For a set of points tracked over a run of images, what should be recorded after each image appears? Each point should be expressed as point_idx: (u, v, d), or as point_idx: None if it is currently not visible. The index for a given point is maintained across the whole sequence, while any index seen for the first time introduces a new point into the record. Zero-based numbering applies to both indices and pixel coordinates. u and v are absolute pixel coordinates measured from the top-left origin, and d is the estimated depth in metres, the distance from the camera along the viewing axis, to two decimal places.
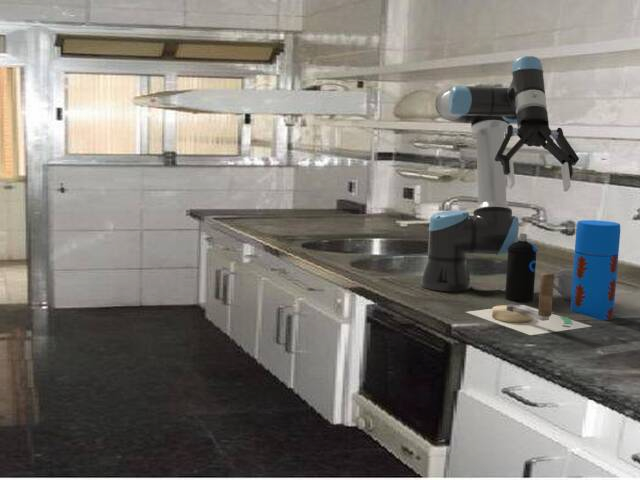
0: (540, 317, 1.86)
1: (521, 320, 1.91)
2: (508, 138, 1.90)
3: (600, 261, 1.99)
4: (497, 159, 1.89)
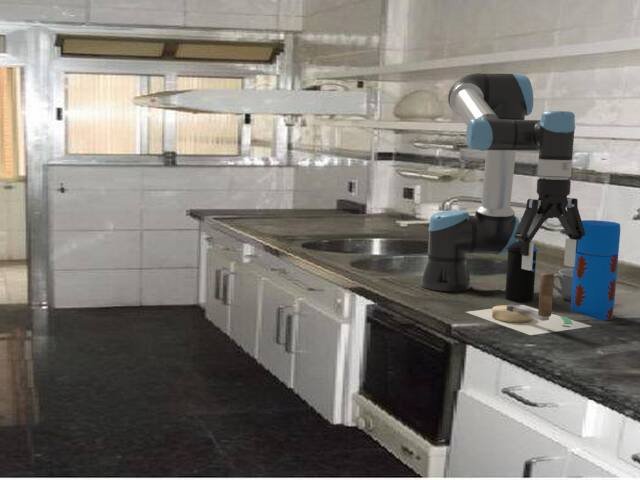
0: (540, 317, 1.86)
1: (521, 320, 1.91)
2: (533, 216, 1.78)
3: (600, 261, 1.99)
4: (518, 239, 1.79)
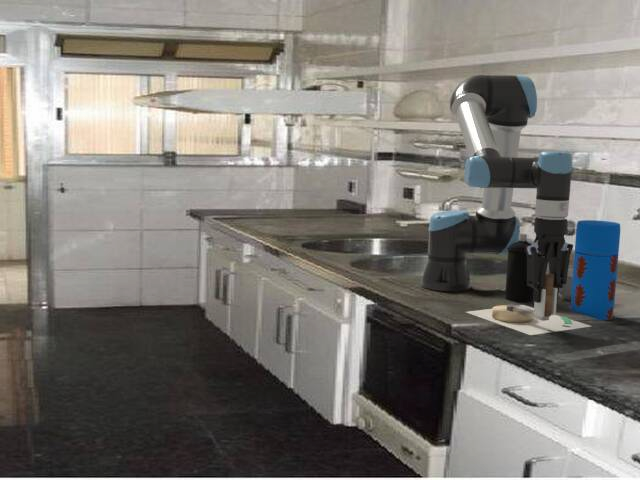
0: (540, 317, 1.86)
1: (521, 320, 1.91)
2: (536, 263, 1.81)
3: (600, 261, 1.99)
4: (531, 286, 1.83)
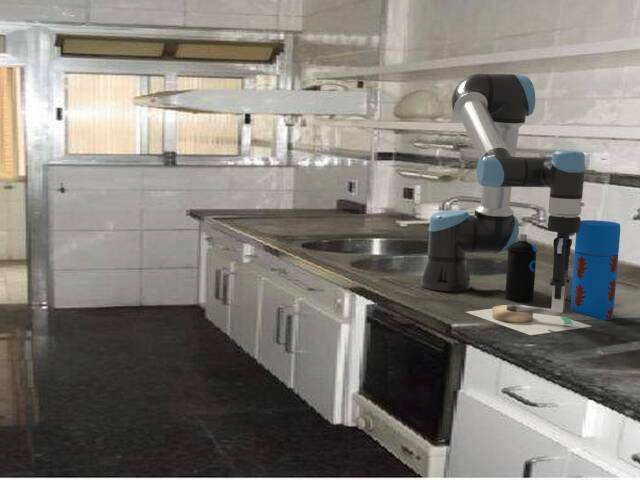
0: (555, 313, 1.90)
1: (530, 319, 1.93)
2: (564, 261, 1.84)
3: (600, 261, 1.99)
4: (556, 284, 1.86)
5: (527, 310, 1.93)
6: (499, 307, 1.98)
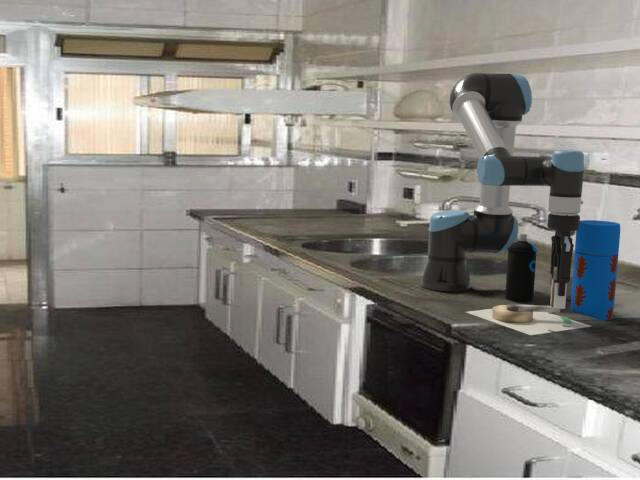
0: (557, 310, 1.94)
1: (532, 317, 1.94)
2: None
3: (600, 261, 1.99)
4: (562, 281, 1.89)
5: (529, 309, 1.94)
6: (498, 308, 1.97)
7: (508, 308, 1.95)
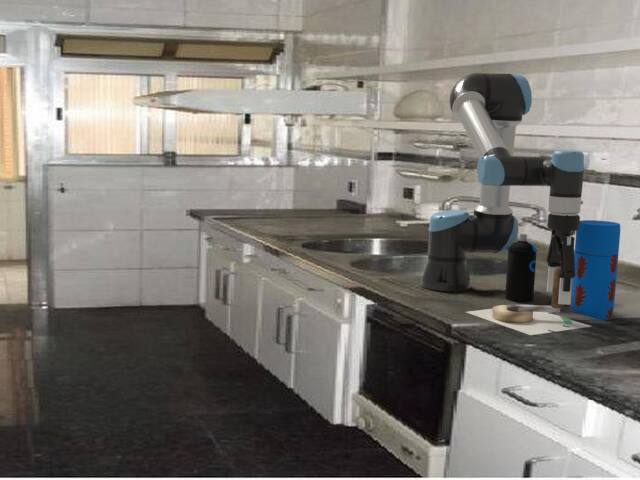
0: (557, 310, 1.94)
1: (532, 317, 1.94)
2: None
3: (600, 261, 1.99)
4: (568, 276, 1.84)
5: (529, 309, 1.94)
6: (498, 308, 1.97)
7: (508, 308, 1.95)
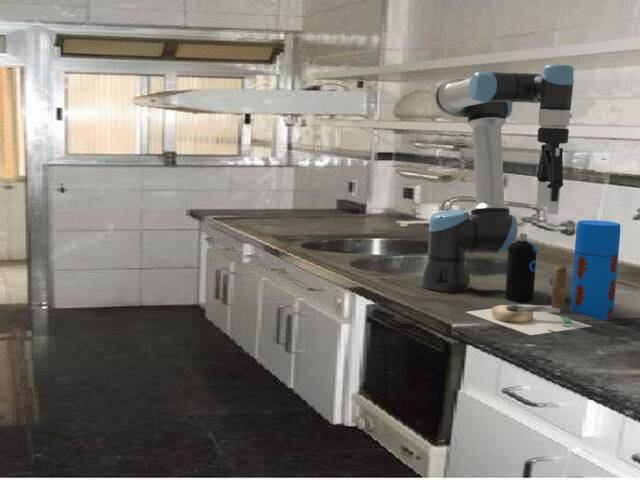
0: (557, 310, 1.94)
1: (532, 317, 1.94)
2: None
3: (600, 261, 1.99)
4: (556, 186, 1.90)
5: (529, 309, 1.94)
6: (498, 308, 1.97)
7: (508, 308, 1.95)
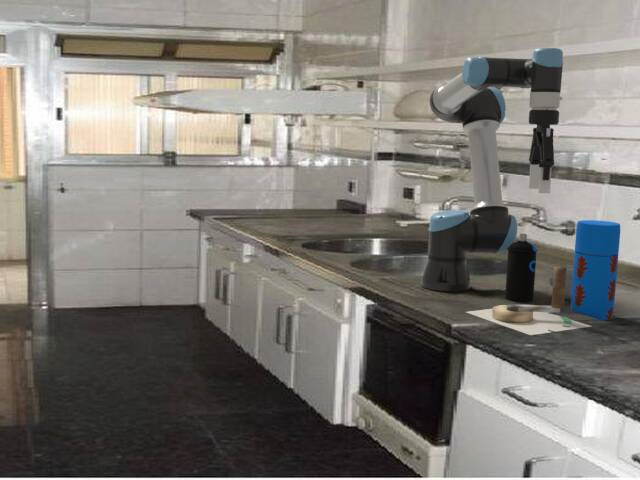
0: (557, 310, 1.94)
1: (532, 317, 1.94)
2: None
3: (600, 261, 1.99)
4: (547, 165, 1.94)
5: (529, 309, 1.94)
6: (498, 308, 1.97)
7: (508, 308, 1.95)
